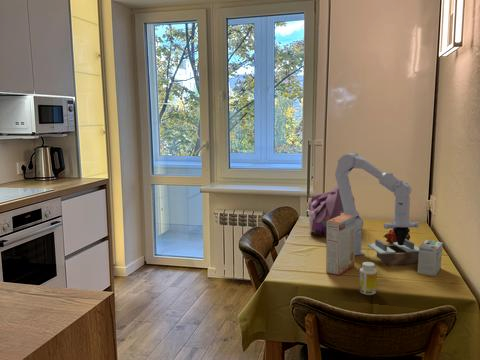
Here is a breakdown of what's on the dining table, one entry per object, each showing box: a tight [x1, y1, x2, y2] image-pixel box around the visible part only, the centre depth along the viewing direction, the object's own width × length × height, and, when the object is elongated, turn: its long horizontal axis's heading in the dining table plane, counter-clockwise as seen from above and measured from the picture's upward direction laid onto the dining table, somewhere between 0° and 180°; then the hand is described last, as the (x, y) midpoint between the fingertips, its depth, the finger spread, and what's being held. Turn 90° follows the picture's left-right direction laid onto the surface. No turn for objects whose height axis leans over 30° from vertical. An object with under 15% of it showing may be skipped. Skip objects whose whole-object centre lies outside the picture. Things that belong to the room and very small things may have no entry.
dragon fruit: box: [383, 229, 411, 245], centre depth 203 cm, size 8×8×12 cm
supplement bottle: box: [359, 261, 378, 296], centre depth 148 cm, size 6×6×10 cm
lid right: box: [392, 239, 419, 253], centre depth 181 cm, size 7×12×3 cm, turn 8°
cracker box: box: [325, 213, 356, 276], centre depth 170 cm, size 14×6×21 cm, turn 141°
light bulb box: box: [417, 239, 444, 277], centre depth 168 cm, size 11×7×11 cm, turn 145°
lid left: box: [366, 238, 396, 254], centre depth 179 cm, size 7×12×3 cm, turn 8°
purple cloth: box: [308, 185, 355, 237], centre depth 224 cm, size 35×24×28 cm
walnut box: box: [376, 244, 419, 267], centre depth 181 cm, size 14×12×5 cm
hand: (400, 244), depth 180 cm, fingers closed
